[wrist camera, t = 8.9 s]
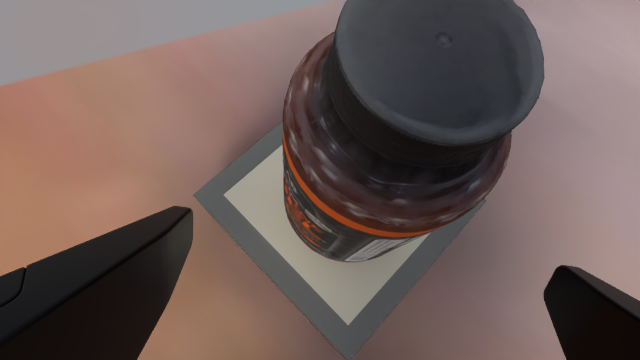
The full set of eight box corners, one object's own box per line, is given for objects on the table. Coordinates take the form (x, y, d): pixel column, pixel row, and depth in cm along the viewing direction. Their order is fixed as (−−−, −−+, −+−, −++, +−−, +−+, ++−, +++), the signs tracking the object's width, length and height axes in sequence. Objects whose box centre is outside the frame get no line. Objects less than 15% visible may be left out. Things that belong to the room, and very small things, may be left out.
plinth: (338, 352, 18) (349, 362, 15) (206, 210, 20) (192, 193, 17) (459, 214, 21) (487, 199, 18) (334, 101, 23) (341, 70, 20)
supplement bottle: (262, 174, 17) (222, -33, 7) (368, 125, 19) (477, -111, 8) (320, 290, 16) (389, 262, 5) (432, 229, 17) (667, 106, 7)
